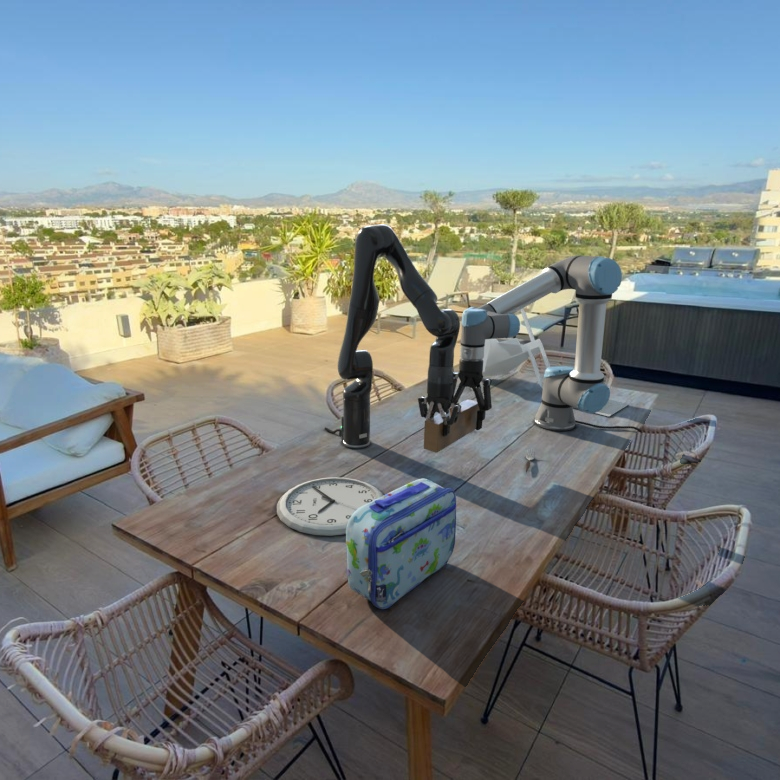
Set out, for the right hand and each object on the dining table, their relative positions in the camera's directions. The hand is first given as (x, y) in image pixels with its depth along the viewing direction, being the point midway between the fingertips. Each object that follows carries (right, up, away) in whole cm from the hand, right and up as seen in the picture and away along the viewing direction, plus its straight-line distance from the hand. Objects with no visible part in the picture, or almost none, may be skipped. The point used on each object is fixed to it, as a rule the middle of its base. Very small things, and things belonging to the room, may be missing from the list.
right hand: (467, 425), depth 172 cm
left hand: (-11, -1, -15) cm, 19 cm away
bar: (-6, -3, -7) cm, 9 cm away
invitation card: (+66, +4, +54) cm, 86 cm away
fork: (+20, -12, -2) cm, 23 cm away
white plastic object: (+32, +14, +84) cm, 91 cm away
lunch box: (-23, -29, -59) cm, 70 cm away
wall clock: (-41, -20, -29) cm, 54 cm away
